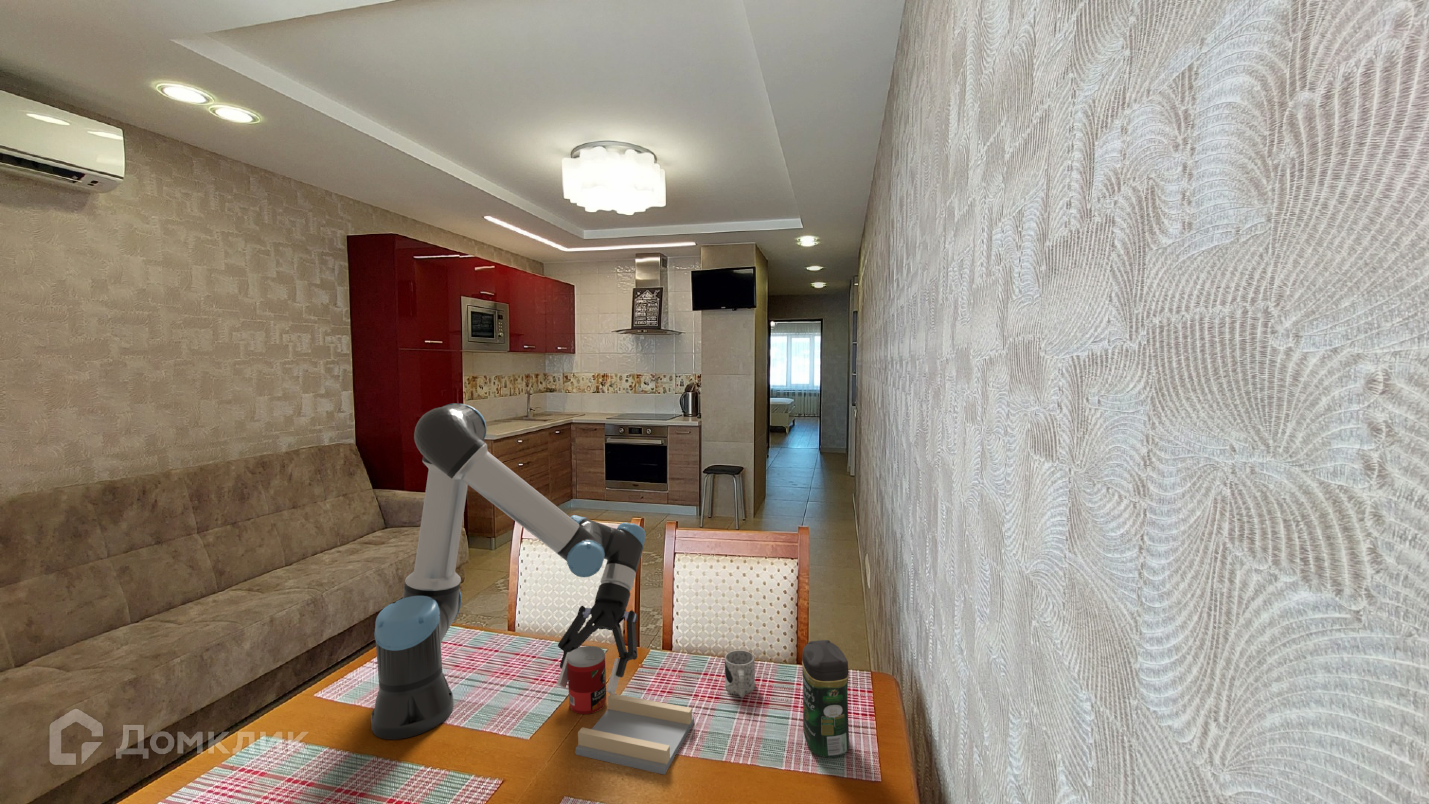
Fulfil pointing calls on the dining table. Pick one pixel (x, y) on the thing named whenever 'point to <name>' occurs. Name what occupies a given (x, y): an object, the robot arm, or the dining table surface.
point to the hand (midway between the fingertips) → (585, 689)
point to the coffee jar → (825, 698)
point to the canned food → (586, 679)
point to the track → (637, 733)
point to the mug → (739, 672)
